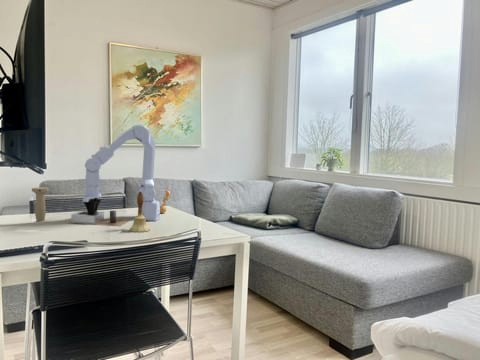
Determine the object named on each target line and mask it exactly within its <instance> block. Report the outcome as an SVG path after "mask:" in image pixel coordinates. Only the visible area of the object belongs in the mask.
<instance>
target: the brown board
mask: <svg viewBox="0 0 480 360" xmlns="http://www.w3.org/2000/svg"><path fill="white" fill-rule="evenodd" d="M130 221H131V219H130V220H129V219H117V210H109V218H108V219H107V218H104V220H102V221H100V222H98V223H96V224H83V223H71V222H69V223H68V224H70V225H72V224H73V225H88V226H105V227H108V226H109V227H121V226H123V225H125V224H126V223H129V222H130Z"/></svg>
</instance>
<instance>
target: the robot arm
mask: <svg viewBox="0 0 480 360" xmlns="http://www.w3.org/2000/svg"><path fill="white" fill-rule="evenodd" d="M130 140H137V141H139V142H140V143H141V145H142V146H143V161H142V175H141V176H142V177H141V178H142V179H141V180H140V181H141V182H140V185H139V186H140V187H138V188H139V189H138V190H137V191H138V193H137V194H139V192H142V194H143V197H144V201H143V205H142V216H144V217H145V219H146V221H148V222H149V221H152V222H156V221H157V220H159V219H160V218H161V216H160V214H161V213H160V206H161V204H160V201H158V200H156V195H157V193H156V189H155V182H154V171H155V155H156V140H155V139H154V136H153V135H152V132H151V130H150V129H149V128H148V127H147V126H146V125H144V124H135V125H132V126H131V127H130V128H128V129H127V130H125V131H124V132H123V133H121V134H120V135H119V137H117V138H116V139H114V141H113V142H112V143H111V144H110V145H104V146H100V147H99V150H98V151H97V152H96V153H95V154H92V155H91V158H90V157H89V158H87V160H86V161H85V163H84V166H85V194H83V195H82V203H83V204H84V205H85V208H86V211H87V212H88V215H94V213H95V211H97V212H98V208H99V205H100V203H101V201H102V199H101V198H102V193H100V169H101V167H102V165H105V164H106V163H107V162H108V161H109V160H111V159H112V158H113V157H114V155H115V151H116V150H118V149H119V148H120V147H122V146H123V145H124V144H125V143H127V142H128V141H130Z"/></svg>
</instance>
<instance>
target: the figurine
mask: <svg viewBox="0 0 480 360" xmlns="http://www.w3.org/2000/svg"><path fill="white" fill-rule="evenodd" d="M164 192H165V194H164V196H162V198H163V199H162V203H163V204H162V205H160V214H164V213H166V212H167V207H166V204H167V201H168V200H169V198H170V196H171V193H172V192H171V191H170V190H167V189H165V191H164Z"/></svg>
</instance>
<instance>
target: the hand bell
mask: <svg viewBox="0 0 480 360" xmlns="http://www.w3.org/2000/svg"><path fill="white" fill-rule="evenodd" d="M136 198H137V199H136V202H137V208H138V209H137V215H136V216H135V217H134V218H133V222H132V226H131V227H129V231H130V232H133V233H145V232H146V233H147V232H149V231H151V229H150V227H149V226H148V224H147V220H146V219H145V217H144V216H142V205H143V201H144V197H143V194H142V192H139V193H137V196H136Z"/></svg>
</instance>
